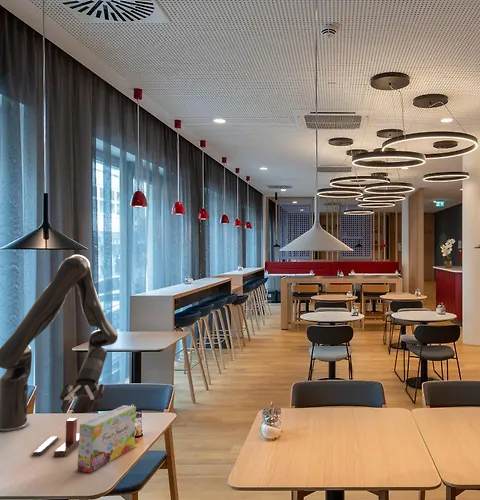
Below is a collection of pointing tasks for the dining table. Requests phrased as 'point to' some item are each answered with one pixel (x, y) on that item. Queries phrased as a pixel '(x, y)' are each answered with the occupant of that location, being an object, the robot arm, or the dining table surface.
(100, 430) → the snack box
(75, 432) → the stamp
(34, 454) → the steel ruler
